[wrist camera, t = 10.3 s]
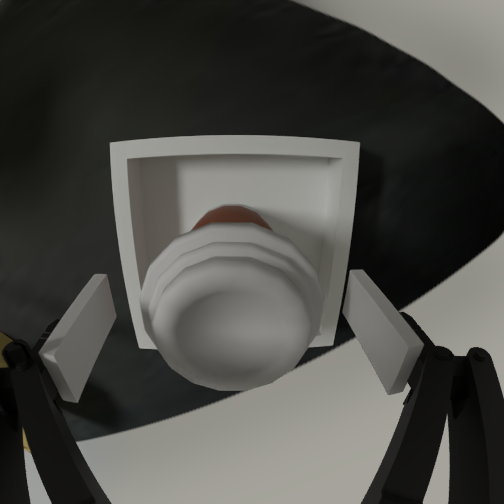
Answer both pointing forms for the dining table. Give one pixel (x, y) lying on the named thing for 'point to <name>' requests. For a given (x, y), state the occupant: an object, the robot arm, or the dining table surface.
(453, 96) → the dining table surface
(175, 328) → the coffee cup
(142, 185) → the white square tray
